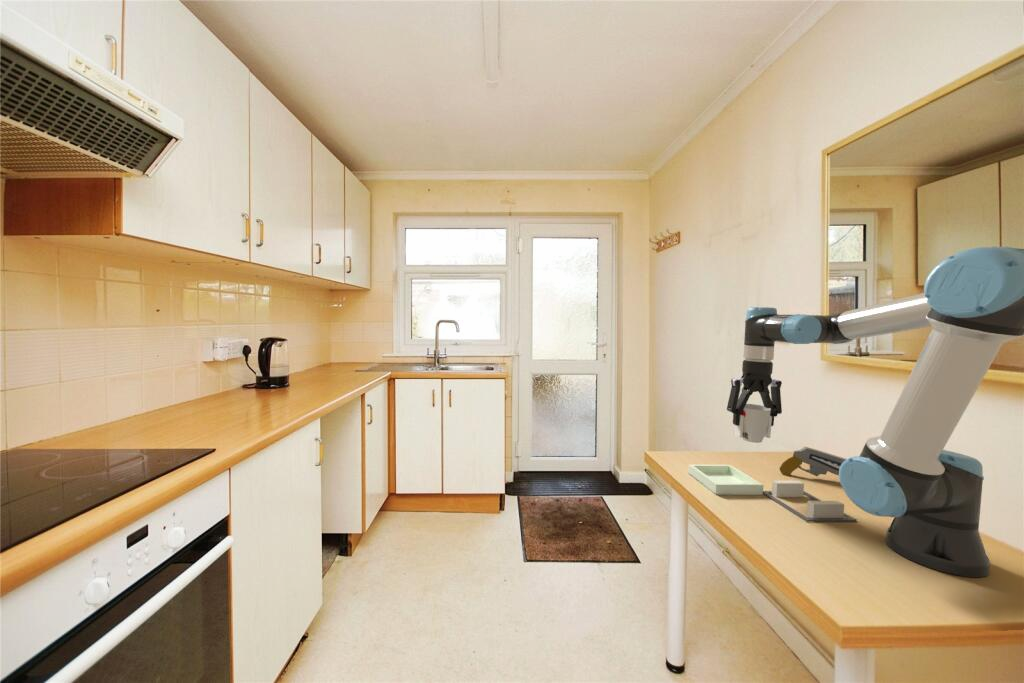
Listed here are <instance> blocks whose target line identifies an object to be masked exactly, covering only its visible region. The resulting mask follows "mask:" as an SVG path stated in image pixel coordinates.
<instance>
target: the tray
mask: <svg viewBox="0 0 1024 683" xmlns="http://www.w3.org/2000/svg"><path fill="white" fill-rule="evenodd" d="M688 474H689V475H690V476H691V477H692V478H694V479H695V480H696V481H697V482H698V483H700V484H701V485H702V486H704V487H705V488H706V489H708V491H710V492H711V493H713V494H714V495H715V496H719V495H720V496H723V495H724V496H726V495H727V496H745V495H746V496H762V495H764V494H763V491H764V484H763V483H762V482H759V481H758V480H756V479H755V478H753V477H751V476H750V475H748V474H746V473H745V472H743V471H742V470H740V469H738V468H736V467H734V466H733V465H732V464H688Z"/></svg>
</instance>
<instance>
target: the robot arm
mask: <svg viewBox="0 0 1024 683" xmlns="http://www.w3.org/2000/svg"><path fill="white" fill-rule="evenodd" d="M745 315H746V316H745V321H744V323H745V324H744V338H743V339H744V340H743V356H742V357H743V358H744V359H743V360H742V366H741V367H742V368H741V369H742V375H741V377H740V378H730V382H731V384H730V385H731V389H730V393H729V397H728V402H727V406H726V411H727V412H730V413H732V414H733V415H732V424H733V425H734V433H733V434H734V435H735V436H736V437H738V438H742V434H743V420H744V416H743V415H741V413H742V411H743V409H744V407H745V405H746V404H748V401H749V398H750V397H751V396H752V395H753V393H756V392H758V393H759V395H760V398H761V402H762V405H763V406H765V407H766V408H770V409H771V411H770V418H769V424H768V427H767V431H766V434H765V436H764V438H767V439H771V434H772V427H774V424H775V422H774V421H775V418H776V417H777V416H778V415H781V414H782V412H783V410H782V408H783V407H782V397H781V396H782V395H781V388H782V383H783V382H782V380H779V379H772V374H773V366H774V363H773V362H772V361H773V360H774V356H775V342H778V343H790V344H792V345H793V344H794V345H811V344H834V345H837V344H839V345H841V344H847V343H851V342H853V341H854V340H859V339H863V338H869V337H870V338H871V337H876V336H883V335H888V334H895V333H896V334H897V333H901V332H907V331H914V330H920V329H926V328H932V330H931V332H930V333H929V335H928V338H927V339H926V341H925V344H924V346H923V348H922V350H921V351H920V354H919V356H918V357H917V360H916V362H915V364H914V366H913V368H912V370H911V372H910V375H909V376H908V378H907V381H906V383H905V385H904V387H903V388H902V390H901V393H900V395H899V397H898V399H897V401H896V404H894V407H893V409H892V411H891V413H890V415H889V417H888V419H887V421H886V424H885V426H884V428H883V429H882V432H881V434H880V435H879V436H874V437H869V438H868V439H867V440H866V441H865V444H864V446H863V447H862V450H861V452H860V454H859V455H856V456H851V457H849V458H846V459H847V460H845V461H844V462H843V463H842V464H841V466H840V469H839V475H838V480H839V483H840V486H841V487H842V488H843V492H844V493H845V495H846V497H847V498H849V501H851V502H852V504H853V505H855V506H857V508H859V509H861V510H862V511H864V512H865V513H867V514H869V515H872V516H876V517H881V518H882V517H883V518H885V517H887V518H888V517H889V518H893V519H892V522H891V523H890V526H889V527H888V528H887V530H886V532H885V534H886V535H885V543H886V545H887V546H888V547H889V548H890V549H891V550H892V551H894V552H895V553H896V554H898V555H900V556H902V557H903V558H906V559H908V560H909V561H913V562H914V563H916V564H919V565H922V566H924V567H927V568H930V569H933V570H936V571H939V572H941V573H946V574H950V575H951V574H952V575H955V576H960V577H967V578H984V577H988V575H989V574H990V570H991V569H990V566H991V561H990V558H989V557H988V555H987V553H986V549H985V547H984V543H983V541H982V538H981V534H980V531H979V529H980V528H979V527H980V526H979V525H980V518H981V517H980V516H981V507H982V506H981V504H982V493H983V492H982V491H983V481H984V479H985V477H984V476H983V474H984V473H983V472H984V471H983V464H982V462H980V461H979V459H976V458H975V457H973V456H970V455H966V454H963V453H958V452H954V451H951V450H946V449H945V447H946V445H947V443H948V441H949V440H950V438H951V436H952V434H953V432H954V431H955V429H956V428H957V426H958V424H959V422H960V420H961V419H962V417H963V415H964V413H965V412H966V410H967V407H968V406H969V404H970V403H971V401H972V399H973V397H974V396H975V394H976V392H977V391H978V388H979V387H980V385H981V383H982V381H983V379H984V378H985V376H986V374H987V373H988V371H989V369H990V367H991V365H992V363H993V362H994V360H995V358H996V357H997V355H998V353H999V351H1000V350H1001V348H1002V346H1003V344H1005V343H1007V342H1011V341H1013V340H1016V339H1020V338H1022V337H1023V336H1024V248H1018V247H1017V248H1016V247H1011V246H985V247H983V246H981V247H974V248H969V249H964V250H962V251H959V252H957V253H953V254H952V255H951V256H948V257H946V258H945V259H943V260H942V261H940V262H939V263H937V265H935V267H934V268H933V269H932V270H931V272H930V273H929V274H928V275H927V277H926V279H925V282H924V285H923V292H922V293H917V294H915V295H910V296H907V297H902V298H898V299H893V300H889V301H884V302H881V303H880V302H879V303H875V304H872V305H868V306H863V307H858V308H855V309H851V310H846V311H844V312H843V311H842V312H839V313H838V312H837V313H834V314H829V315H822V314H821V315H819V314H817V315H814V314H813V315H812V314H811V315H810V314H805V313H804V314H796V313H795V314H778V310H777V308H775V307H768V306H766V307H762V306H761V307H757V306H755V307H749V308H747V310H746V314H745ZM742 386H743V387H742ZM741 387H742V389H741ZM769 387H770V390H769Z"/></svg>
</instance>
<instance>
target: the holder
mask: <svg viewBox="0 0 1024 683" xmlns="http://www.w3.org/2000/svg"><path fill="white" fill-rule="evenodd" d="M763 495H765V496H766V497H767V498H769V499H770V500H772V501H774V502H775V503H777V504H778V505H780V506H781V507H783V508H785V509H786V510H788V511H789V512H790V513H792V514H794V515H796V516H797V517H798V518H801V519H802V520H804V521H805V522H807V523H812V522H813V523H823V522H824V523H827V522H828V523H829V522H830V523H831V522H832V523H838V522H839V523H840V522H841V523H842V522H843V523H844V522H849V523H851V522H855V523H856V522H857V519H856V518H855V517H853V516H851V515H849V514H847V513H845V504H844V503H842V502H841V501H839V500H821V499H820V498H817V497H816V496H814V495H812V494H810V493H808V492H807V491H805V483H804V482H802V481H800V480H772V481H771V490H763ZM804 496H806V497H807V498H809V499H811V500H807V505H806V508H807V510H806V515H804V514H802V513H801V512H799V511H797V510H796V509H794V508H792V507H791V506H789V504H786V503H784V502H783V501H781V500H780V499H778V498H804Z"/></svg>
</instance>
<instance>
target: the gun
mask: <svg viewBox="0 0 1024 683" xmlns="http://www.w3.org/2000/svg"><path fill="white" fill-rule="evenodd" d="M847 459H848V458H844V457H841V456H838V455H834V454H832V453H829V452H825V451H822V450H819V449H815V448H811V447H808V446H804V447H802V448H800V449H799V450H794V451H793V454H792V456H791V457H789V458H786V460H784V461H783V462H782V463H781V464H780V466H779V472H780V473H781V474H782V475H783V476H786V477H791V475H792V473H793V472H794V471H796V470H797V469H799V470H802V471H804V472H805V473H809V474H811V475H813V476H815V477H819V475H825V476H826V475H827V474H828V472H829V473H831V474H834V475H836V476H839V469H840V466H841V464H842V463H843V462H844V461H845V460H847ZM803 463H805V464H807V465H809V466H808V467H809V469H808V468H807V469H805V468H803V467H802V466H801V465H803Z"/></svg>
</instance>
